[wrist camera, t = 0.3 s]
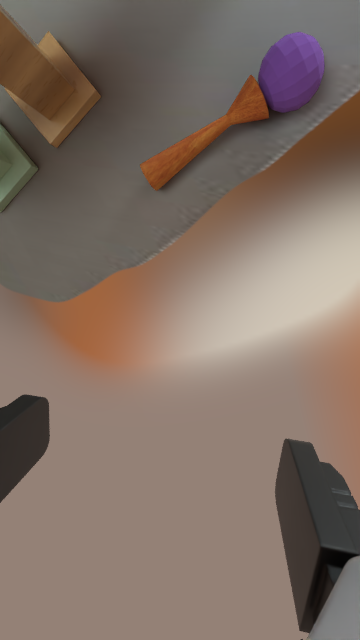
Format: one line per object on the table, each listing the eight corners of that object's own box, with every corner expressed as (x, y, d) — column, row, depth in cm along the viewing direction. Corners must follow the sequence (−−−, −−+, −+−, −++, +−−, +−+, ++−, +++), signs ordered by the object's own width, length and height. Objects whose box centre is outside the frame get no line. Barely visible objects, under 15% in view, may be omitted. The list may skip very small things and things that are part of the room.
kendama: (125, 143, 32) (308, -3, 26) (148, 165, 38) (303, 50, 31) (149, 191, 32) (341, 55, 25) (169, 207, 37) (330, 99, 31)
